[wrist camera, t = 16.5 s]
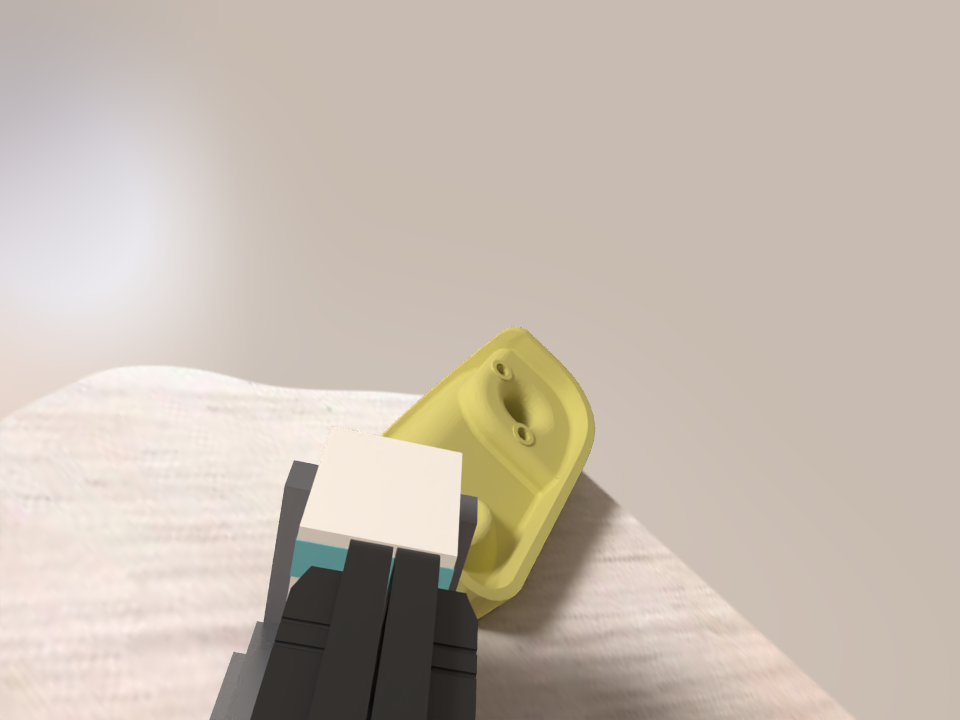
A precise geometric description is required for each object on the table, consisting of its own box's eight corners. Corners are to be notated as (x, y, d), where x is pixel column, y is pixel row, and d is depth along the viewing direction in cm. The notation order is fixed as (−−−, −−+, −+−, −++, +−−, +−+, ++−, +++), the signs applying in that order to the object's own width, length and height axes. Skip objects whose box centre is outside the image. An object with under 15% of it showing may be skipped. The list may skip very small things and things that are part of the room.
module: (382, 802, 27) (458, 557, 22) (254, 783, 27) (298, 526, 21) (397, 682, 32) (463, 452, 26) (287, 663, 31) (330, 425, 26)
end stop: (418, 708, 33) (477, 523, 28) (254, 680, 32) (284, 485, 27) (421, 678, 34) (477, 497, 29) (263, 651, 33) (294, 460, 28)
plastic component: (504, 622, 35) (346, 471, 35) (417, 676, 39) (276, 542, 39) (611, 412, 51) (504, 307, 51) (542, 466, 56) (443, 370, 55)
